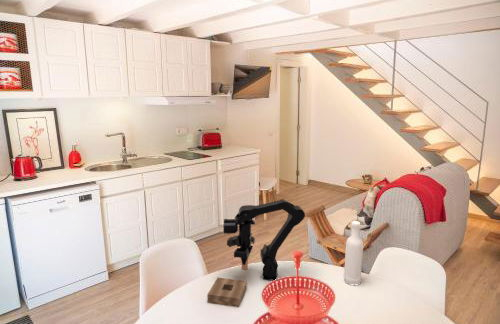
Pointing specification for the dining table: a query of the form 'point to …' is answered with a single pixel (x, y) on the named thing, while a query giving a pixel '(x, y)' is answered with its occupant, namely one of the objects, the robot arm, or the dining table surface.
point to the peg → (245, 266)
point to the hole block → (227, 292)
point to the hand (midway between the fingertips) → (244, 262)
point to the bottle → (353, 256)
